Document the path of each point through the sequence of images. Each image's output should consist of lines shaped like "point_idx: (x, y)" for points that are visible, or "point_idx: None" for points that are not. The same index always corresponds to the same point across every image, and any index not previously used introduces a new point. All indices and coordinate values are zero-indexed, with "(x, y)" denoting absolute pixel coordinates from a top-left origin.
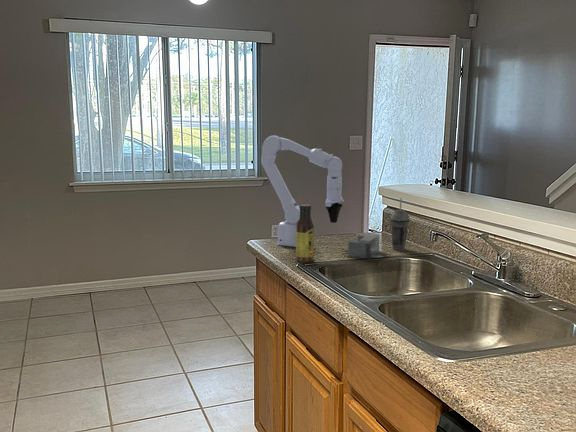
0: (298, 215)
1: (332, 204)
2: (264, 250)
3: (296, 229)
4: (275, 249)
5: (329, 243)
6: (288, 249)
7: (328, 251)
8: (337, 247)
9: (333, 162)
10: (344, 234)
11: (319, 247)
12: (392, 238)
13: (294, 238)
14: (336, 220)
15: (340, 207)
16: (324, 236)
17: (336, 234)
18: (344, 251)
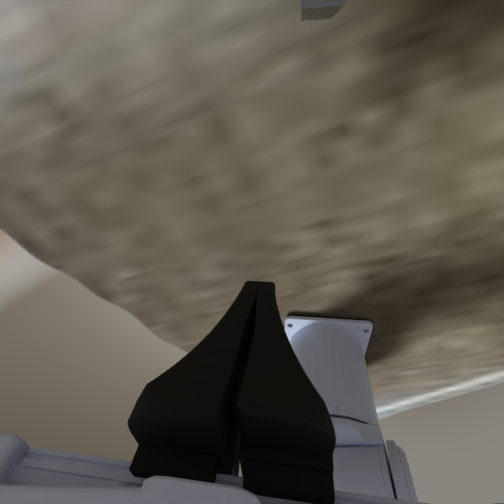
0: (414, 489)
1: (326, 497)
2: (452, 388)
3: (368, 399)
4: (428, 369)
5: (233, 239)
6: (417, 338)
7: (423, 188)
8: (304, 176)
9: None
10: (21, 236)
11: (338, 253)
12: None
13: (365, 363)
14: (262, 290)
15: (203, 382)
16: (121, 292)
17: (51, 264)
18: (402, 97)
